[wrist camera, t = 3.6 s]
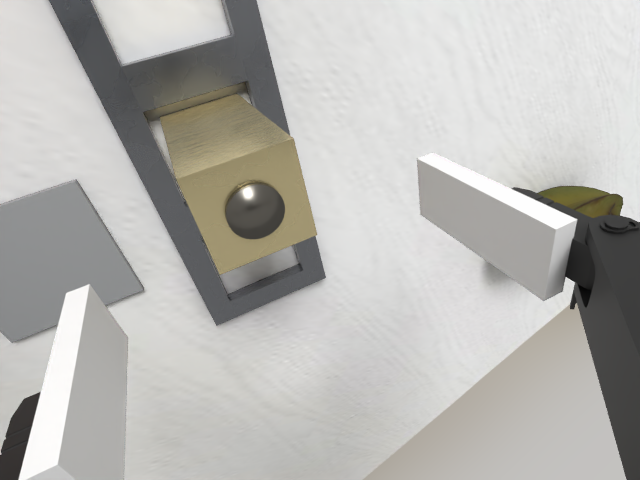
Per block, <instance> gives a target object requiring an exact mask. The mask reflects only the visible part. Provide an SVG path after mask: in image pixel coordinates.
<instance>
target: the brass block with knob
mask: <svg viewBox="0 0 640 480" xmlns="http://www.w3.org/2000/svg"><path fill="white" fill-rule="evenodd" d="M160 120H161V124H162V128H163V132H164V135H165V139H166V143H167V147H168V150H169V154H170V158H171V162H172V165H173V169H174V173H175V177H176V180H177V182H178V184H179V186H180V189H181V191H182V193H183V195H184V197H185V200H186V202H187V204H188V206H189V208H190V210H191V213H192V215H193V217H194V219H195V221H196V224H197V226H198V228H199V230H200V232H201V235H202V237H203V239H204V241H205V243H206V245H207V248H208V250H209V252H210V254H211V256H212V259H213V261H214V263H215V265H216V267H217V270H218V272H219V274H220V275H221V274H223V273H226V272H228V271H231V270H233V269H236V268H238V267H240V266H243V265H245V264H248V263H250V262H253V261H255V260H257V259H260V258H262V257H265V256H267V255H270V254H272V253H274V252H277V251H279V250H282V249H284V248H287V247H289V246H291V245H294V244H296V243H299V242H301V241H304V240H306V239H308V238H311V237H313V236H316V235H317V232H316V228H315V224H314V220H313V216H312V211H311V207H310V203H309V199H308V195H307V191H306V187H305V183H304V179H303V175H302V171H301V167H300V163H299V159H298V155H297V150H296V146H295V142H294V139H293V138H292V137H291V136H290V135H288V134H287V133H286V132H285V131H283V130H282V129H281V128H280V127H278V126H277V125H276V124H275V123H273V122H272V121H271V120H270V119H268V118H267V117H266V116H265V115H263V114H262V113H261V112H259V111H258V110H257V109H256V108H254V107H253V106H252V105H251V104H249V103H248V102H247V101H246V100H244V99H243V98H242V97H241V96H239V95H238V94H237V93H236V94H233V95H230V96H227V97H223V98H220V99H217V100H214V101H210V102H207V103H204V104H201V105H197V106H194V107H191V108H188V109H184V110H181V111H178V112H175V113H171V114H168V115H165V116H162V117H160Z"/></svg>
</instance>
